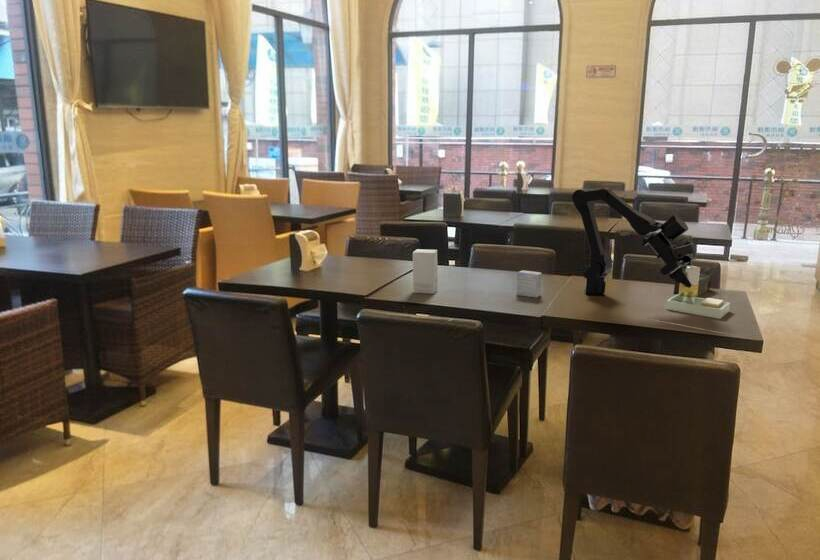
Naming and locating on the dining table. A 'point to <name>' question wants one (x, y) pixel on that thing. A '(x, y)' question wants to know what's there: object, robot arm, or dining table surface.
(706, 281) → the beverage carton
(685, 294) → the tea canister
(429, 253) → the skincare box
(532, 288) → the medicine box
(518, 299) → the dining table surface
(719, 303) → the butter box
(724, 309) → the tote
